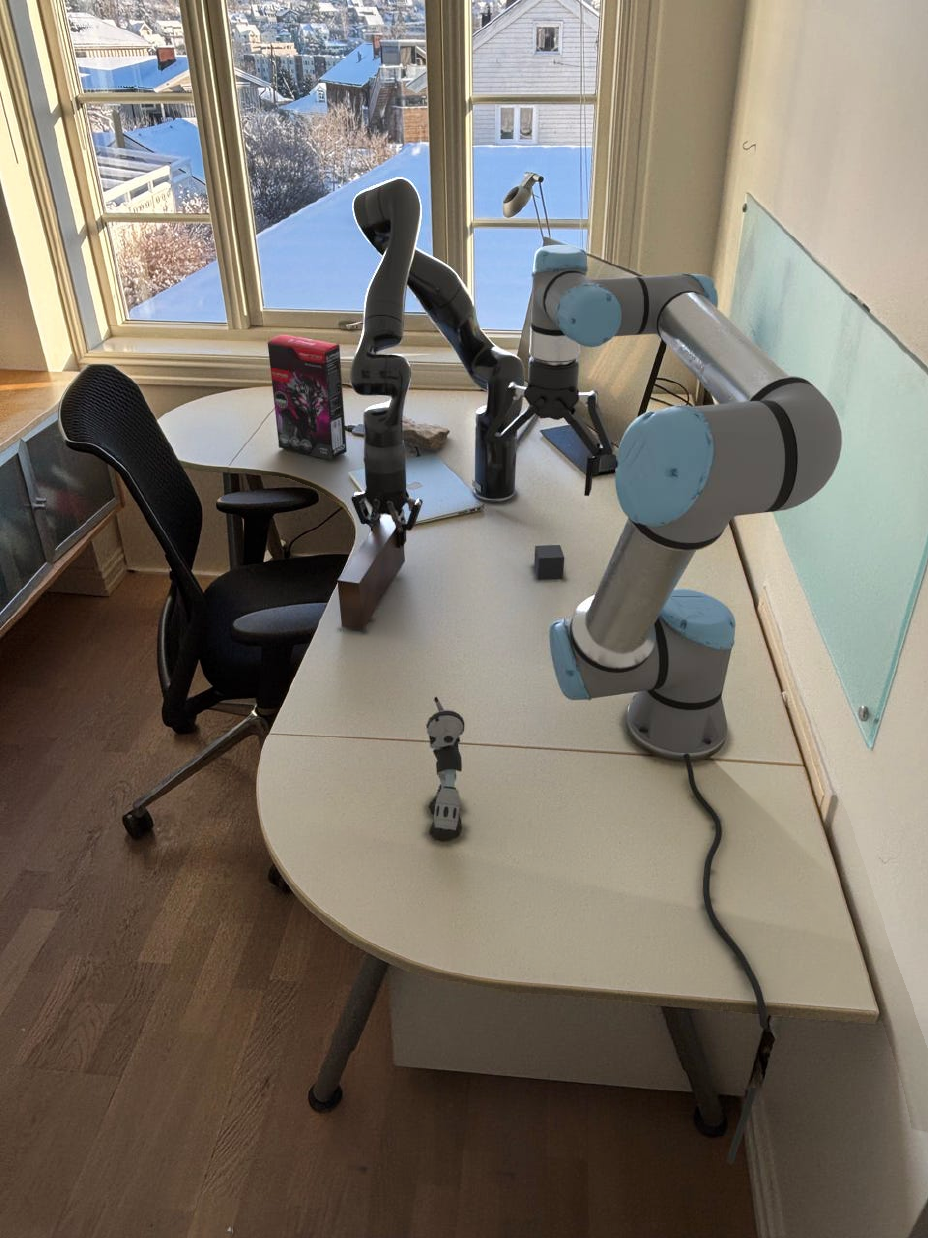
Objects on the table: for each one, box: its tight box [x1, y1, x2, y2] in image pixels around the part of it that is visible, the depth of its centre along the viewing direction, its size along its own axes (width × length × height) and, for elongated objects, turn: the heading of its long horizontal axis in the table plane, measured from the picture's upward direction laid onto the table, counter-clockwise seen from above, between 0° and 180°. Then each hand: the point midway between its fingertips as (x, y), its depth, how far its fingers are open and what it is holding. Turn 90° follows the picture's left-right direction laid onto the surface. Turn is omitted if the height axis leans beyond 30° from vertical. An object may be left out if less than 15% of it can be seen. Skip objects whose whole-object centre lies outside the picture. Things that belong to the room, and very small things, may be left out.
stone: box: [403, 415, 451, 451], centre depth 235 cm, size 21×15×6 cm
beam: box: [336, 514, 406, 631], centre depth 171 cm, size 24×4×10 cm, turn 165°
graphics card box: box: [267, 333, 348, 461], centre depth 223 cm, size 17×7×27 cm, turn 62°
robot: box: [425, 696, 465, 842], centre depth 121 cm, size 20×5×20 cm, turn 3°
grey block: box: [533, 544, 565, 581], centre depth 181 cm, size 5×5×5 cm
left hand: (388, 544), depth 178 cm, fingers closed on beam, 4 cm apart
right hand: (546, 487), depth 149 cm, fingers open, 13 cm apart
